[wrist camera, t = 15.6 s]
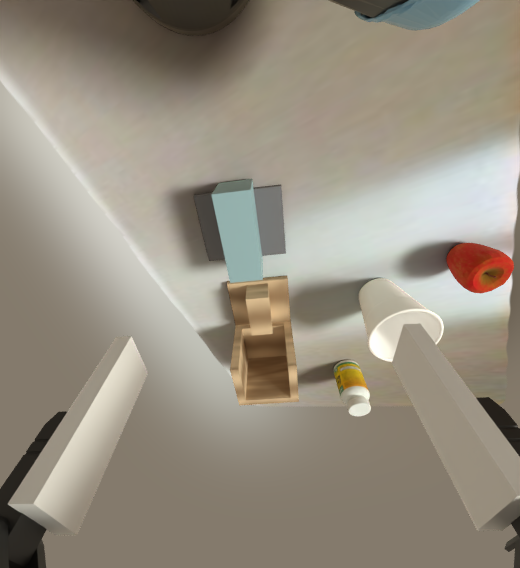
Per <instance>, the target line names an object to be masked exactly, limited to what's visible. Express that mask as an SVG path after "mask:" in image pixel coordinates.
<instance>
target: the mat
mask: <svg viewBox="0 0 520 568" xmlns="http://www.w3.org/2000/svg"><path fill="white" fill-rule="evenodd" d="M253 189H254V197H255V205H256V212H257V220H258V228H259V236H260V244H261V251H262V256H264V255H274V254H284V253H286V249H285V234H284V220H283V205H282V190H281V185H274V186H265V187H257V188H253ZM211 194H212V193H206V194H197V195H194V201H195V205H196V209H197V213H198V217H199V221H200V225H201V229H202V233H203V237H204V241H205V246H206V250H207V254H208V258H209V261H214V260H224V259H225V256H224V251H223V247H222V242H221V237H220V233H219V228H218V223H217V219H216V214H215V209H214V205H213V200H212V195H211Z"/></svg>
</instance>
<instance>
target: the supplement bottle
mask: <svg viewBox="0 0 520 568" xmlns="http://www.w3.org/2000/svg"><path fill="white" fill-rule="evenodd" d="M334 375H335V379H336V382H337V386H338V389H339V393H340V397H341V400H342V401H343V403H345V404H346V405H347V408H348V411H349V413H350V414H351V415H353V416H363V415H365V414H367V413H369V412H370V410H371V407H370V404H369V401H368V400H369V397H370V394H369V391H368V388H367V386H366V383H365V381H364V378H363V375H362V373H361V370H360V367H359V365H358V364H357V363H356V362H354V361H352V360H344V361H341V362H339V363H337V364H336V365H335V367H334Z"/></svg>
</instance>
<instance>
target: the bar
mask: <svg viewBox="0 0 520 568" xmlns="http://www.w3.org/2000/svg"><path fill="white" fill-rule="evenodd" d="M211 195H212V200H213V205H214V209H215V214H216V219H217V223H218V228H219V233H220V237H221V242H222V247H223V251H224V256H225V261H226V265H227V270H228V275H229V279H230V283H235V282H245V281H255V280H263V259H262V251H261V244H260V236H259V228H258V220H257V212H256V205H255V197H254V189H253V181H252V179H247V180H239V181H231V182H223V183H218V185H217V186H216V188H215V190H214V191H213V193H212V194H211Z"/></svg>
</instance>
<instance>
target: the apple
mask: <svg viewBox="0 0 520 568" xmlns="http://www.w3.org/2000/svg"><path fill="white" fill-rule="evenodd" d="M446 260H447V265H448V267H449V269H450V271H451V273H452V274H453V276H454V277H455V279H456V280H457V281H458V282H459V283H460V284H461V285H462V286H463V287H464V288H465V289H467V290H469V291H471V292H474V293H484V292H489V291H492V290H494V289H496V288H497V287H499V286H501V285H503V284H504V283H505V282H506V281H507V280H508V278H509V277H510V275H511V273H512V271H513V269H514V267H513V266H514V265H513V261H512V260H511V259H510V257H508V256H507V255H506V254H504V253H503V252H501V251H499V250H496V249H493V248H490V247H487V246H484V245H480V244H475V243H461V244H459V245H456V246H455V247H453V248H452V249H451V250H450V252H449V253H448V255H447V258H446Z"/></svg>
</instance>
